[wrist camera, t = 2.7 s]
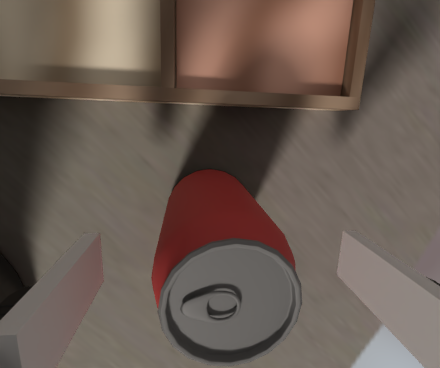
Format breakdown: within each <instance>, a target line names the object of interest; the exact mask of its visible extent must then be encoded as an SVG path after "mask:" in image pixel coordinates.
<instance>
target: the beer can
mask: <svg viewBox="0 0 440 368" xmlns="http://www.w3.org/2000/svg"><path fill="white" fill-rule="evenodd" d="M152 284H153V290H154V294H155V299H156V304H157V308H158V314H159V319H160V323H161V328H162V331H163V333H164V334H165V336H166V337H167V339H168V340H169V342H170V343H171V345H172V346H173V347H174V348H175V349H177V350H178V351H179V352H181V353H182V354H183V355H185V356H186V357H188V358H189V359H192V360H195V361H198V362H201V363H204V364H207V365H213V366H234V365H239V364H243V363H248V362H251V361H253V360H256V359H258V358H260V357H262V356H264V355H266V354H268V353H269V352H271V351H272V350H273V349H274V348H275V347H276V346H278V345H279V344H280V343H281V342H282V341H283V340H284V339H286V337H287V336H288V334H289V333H290V331H291V330H292V328H293V327H294V325H295V323H296V322H297V319H298V315H299V312H300V308H301V305H302V293H301V283H300V281H299V278H298V276H297V274H296V271H295V260H294V257H293V254H292V251H291V249H290V247H289V245H288V242H287V240H286V238H285V236H284V234H283V233H282V231H281V230H280V229H279V228H278V227H277V226H276V224H275V223H274V222H273V221H272V220H271V218H270V217H269V216H268V215H267V214H266V212H265V211H264V210H263V209H262V208H261V206H260V205H259V204H258V203H257V202H256V200H255V199H254V198H253V197H252V196H251V194H250V193H249V192H248V191H247V190H246V189H245V187H244V186H243V185H242V184H241V183H240V182H239V181H238V180H237V179H236V178H235V177H234V176H232V175H230V174H228V173H226V172H224V171H219V170H213V169H207V170H200V171H196V172H194V173H192V174H190V175H188V176H186V177H184V178H183V179H182V180H181V181H180V182H179V183H178V184H177V185H176V186H175V187H174V189H173V191H172V193H171V195H170V197H169V200H168V204H167V208H166V212H165V216H164V220H163V224H162V229H161V233H160V237H159V241H158V245H157V249H156V253H155V257H154V264H153V271H152Z"/></svg>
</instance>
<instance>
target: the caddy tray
mask: <svg viewBox="0 0 440 368" xmlns="http://www.w3.org/2000/svg"><path fill="white" fill-rule="evenodd" d="M374 6H375V0H0V96H10V97H33V98H56V99H79V100H102V101H125V102H148V103H170V104H193V105H216V106H239V107H262V108H285V109H308V110H331V111H342V110H359V105H360V98H361V91H362V85H363V78H364V72H365V65H366V58H367V52H368V45H369V39H370V32H371V25H372V19H373V12H374Z"/></svg>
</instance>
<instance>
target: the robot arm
mask: <svg viewBox="0 0 440 368" xmlns="http://www.w3.org/2000/svg"><path fill="white" fill-rule="evenodd" d="M337 275H338V276H339V277H340V279H341V280H342V281H343V282H344V283H345V284H346V285H347V286H348V287H349V288H350V289H351V290H352V291H353V292H354V293H355V294H356V295H357V297H358V298H359V299H360V300H361V301H362V302H363V303H364V304H365V305H366V306H367V307H368V308H369V309H370V310H371V311H372V312H373V313H374V314H375V316H376V317H377V318H378V319H379V320H380V321H381V322H382V323H383V324H384V325H385V326H386V327H387V328H388V329H389V330H390V331H391V332H392V334H393V335H394V336H395V337H396V338H397V339H398V340H399V341H400V342H401V343H402V344H403V345H404V346H405V347H406V348H407V349H408V350H409V351H410V352H411V354H412V355H413V356H414V357H415V358H416V359H417V360H418V361H419V362H420V363H421V364H422V365H423V366H424V367H425V368H440V284H439V283H437V282H436V281H434V280H431V279H429V278H427V277H425V276H423V275H422V274H420V273H419V272H418V271H416V270H415V269H413V268H412V267H410V266H409V265H407V264H406V263H404V262H403V261H401V260H400V259H398V258H397V257H395V256H394V255H392V254H391V253H389V252H388V251H386V250H385V249H383V248H382V247H380V246H379V245H377V244H376V243H374V242H373V241H371V240H370V239H368V238H367V237H365V236H364V235H362V234H361V233H359V232H358V231H356V230H351V231H343V236H342V242H341V249H340V255H339V262H338V269H337ZM103 281H104V280H103V267H102V253H101V239H100V233H84V234H83V235H82V236H81V237H80V238H79V239H78V240H77V241H76V242H75V243H74V244H73V245H72V246H71V247H70V248H69V249H68V250H67V251H66V252H65V254H64V255H63V256H62V257H61V258H60V259H59V260H58V261H57V262H56V263H55V264H54V265H53V266H52V267H51V268H50V269H49V270H48V271H47V272H46V273H45V274H44V275H43V276H42V277H41V279H40V280H39V281H38V282H37V283H36V284H35V285H34V286H33V287H23V285H22V283H21V281H20V279H19V277H18V275H17V274H16V272H15V271H14V269H13V268H12V266H11V265H10V264H9V263H8V262H7V261H6V259H5V258H4V257H3V256H2V255H1V254H0V368H56V366H57V365H58V363H59V361H60V359H61V357H62V355H63V354H64V352H65V350H66V348H67V346H68V345H69V343H70V341H71V339H72V337H73V336H74V334H75V332H76V330H77V328H78V326H79V325H80V323H81V321H82V319H83V317H84V316H85V314H86V312H87V310H88V308H89V307H90V305H91V303H92V301H93V299H94V297H95V296H96V294H97V292H98V290H99V288H100V287H101V285H102V283H103Z"/></svg>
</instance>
